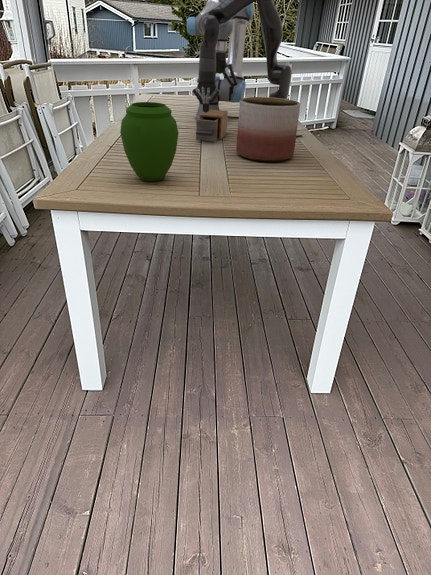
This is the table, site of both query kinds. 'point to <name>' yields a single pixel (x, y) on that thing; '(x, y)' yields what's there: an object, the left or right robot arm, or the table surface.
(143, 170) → the vase
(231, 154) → the table surface
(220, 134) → the tan rectangular mottled block
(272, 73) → the right robot arm
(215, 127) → the drawer
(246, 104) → the planter
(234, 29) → the left robot arm
